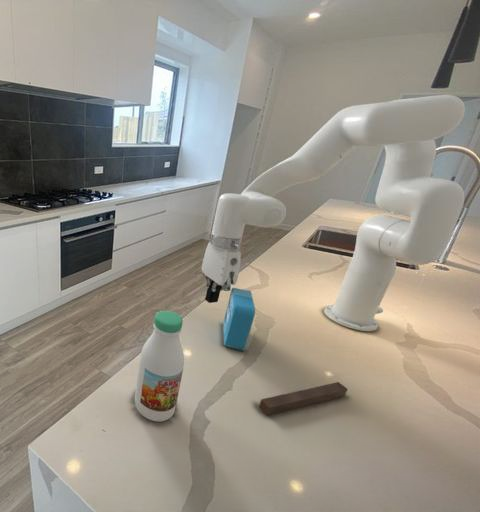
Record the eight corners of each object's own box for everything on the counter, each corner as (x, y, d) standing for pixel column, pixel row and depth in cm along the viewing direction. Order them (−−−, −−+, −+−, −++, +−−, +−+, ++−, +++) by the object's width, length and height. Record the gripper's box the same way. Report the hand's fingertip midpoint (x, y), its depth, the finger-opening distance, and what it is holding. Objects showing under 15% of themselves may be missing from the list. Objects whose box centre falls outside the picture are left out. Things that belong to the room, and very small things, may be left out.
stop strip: (335, 388, 63) (338, 381, 63) (344, 396, 62) (348, 389, 61) (258, 406, 58) (261, 399, 57) (266, 415, 56) (269, 407, 56)
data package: (222, 323, 84) (232, 285, 80) (240, 326, 83) (250, 289, 79) (224, 348, 74) (234, 307, 69) (243, 353, 73) (256, 311, 68)
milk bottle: (125, 404, 57) (136, 315, 50) (149, 383, 62) (162, 300, 55) (159, 431, 52) (176, 337, 45) (182, 406, 57) (201, 318, 50)
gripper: (257, 250, 73) (239, 313, 80) (219, 232, 87) (206, 287, 94) (232, 252, 71) (216, 316, 78) (196, 233, 85) (185, 289, 92)
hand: (211, 300), depth 86 cm, fingers closed
